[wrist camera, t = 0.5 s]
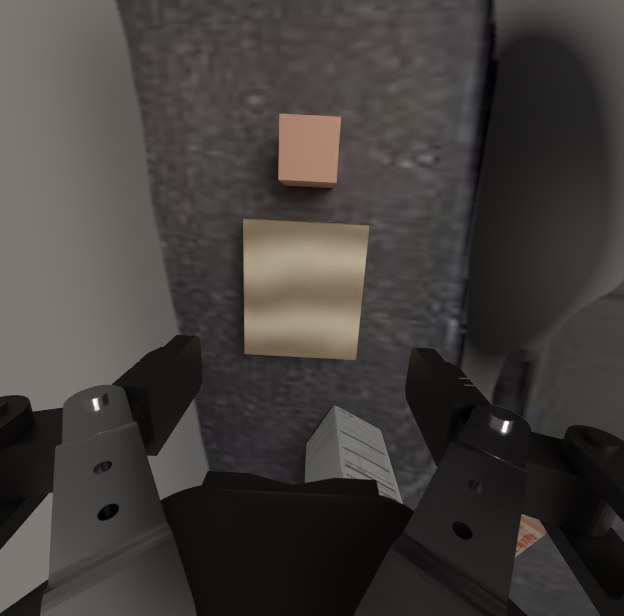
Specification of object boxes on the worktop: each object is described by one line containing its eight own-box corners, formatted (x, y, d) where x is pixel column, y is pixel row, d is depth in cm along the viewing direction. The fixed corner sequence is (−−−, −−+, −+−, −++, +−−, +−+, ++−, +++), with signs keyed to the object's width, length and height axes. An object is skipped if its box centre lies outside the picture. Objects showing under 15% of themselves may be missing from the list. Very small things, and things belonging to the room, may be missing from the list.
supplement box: (351, 467, 43) (364, 567, 31) (304, 443, 42) (299, 536, 30) (382, 428, 41) (410, 518, 29) (334, 402, 40) (342, 483, 28)
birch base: (251, 218, 34) (243, 219, 30) (363, 224, 34) (369, 225, 30) (252, 339, 38) (244, 354, 34) (351, 345, 38) (355, 359, 34)
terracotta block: (286, 132, 31) (279, 113, 25) (336, 134, 31) (340, 116, 26) (285, 185, 33) (278, 179, 27) (332, 188, 33) (336, 182, 27)
